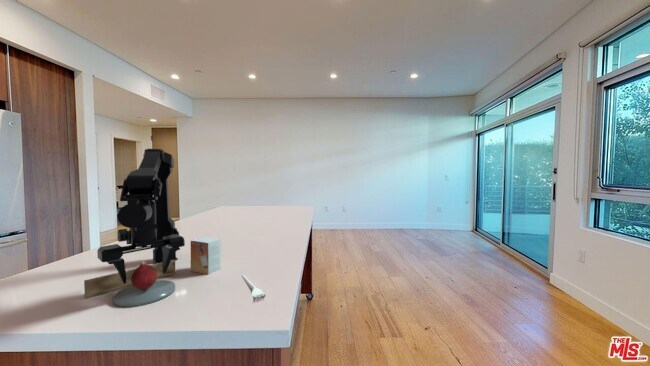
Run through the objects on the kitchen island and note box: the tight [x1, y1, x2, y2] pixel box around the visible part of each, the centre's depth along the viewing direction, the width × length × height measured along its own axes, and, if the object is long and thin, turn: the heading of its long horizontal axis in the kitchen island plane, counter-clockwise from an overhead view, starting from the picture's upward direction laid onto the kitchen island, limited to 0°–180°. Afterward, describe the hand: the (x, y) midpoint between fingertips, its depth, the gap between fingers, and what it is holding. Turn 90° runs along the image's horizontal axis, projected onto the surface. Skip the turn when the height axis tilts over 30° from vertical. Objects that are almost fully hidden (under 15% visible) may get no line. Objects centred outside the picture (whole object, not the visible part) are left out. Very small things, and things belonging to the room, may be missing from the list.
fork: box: [241, 274, 268, 299], centre depth 77 cm, size 3×20×2 cm, turn 32°
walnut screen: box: [83, 260, 177, 300], centre depth 78 cm, size 22×2×4 cm, turn 140°
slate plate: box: [112, 279, 176, 308], centre depth 72 cm, size 14×14×1 cm
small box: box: [190, 237, 222, 275], centre depth 89 cm, size 8×6×10 cm
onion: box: [131, 260, 157, 291], centre depth 71 cm, size 6×6×8 cm
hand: (145, 277), depth 72 cm, fingers open, 9 cm apart
